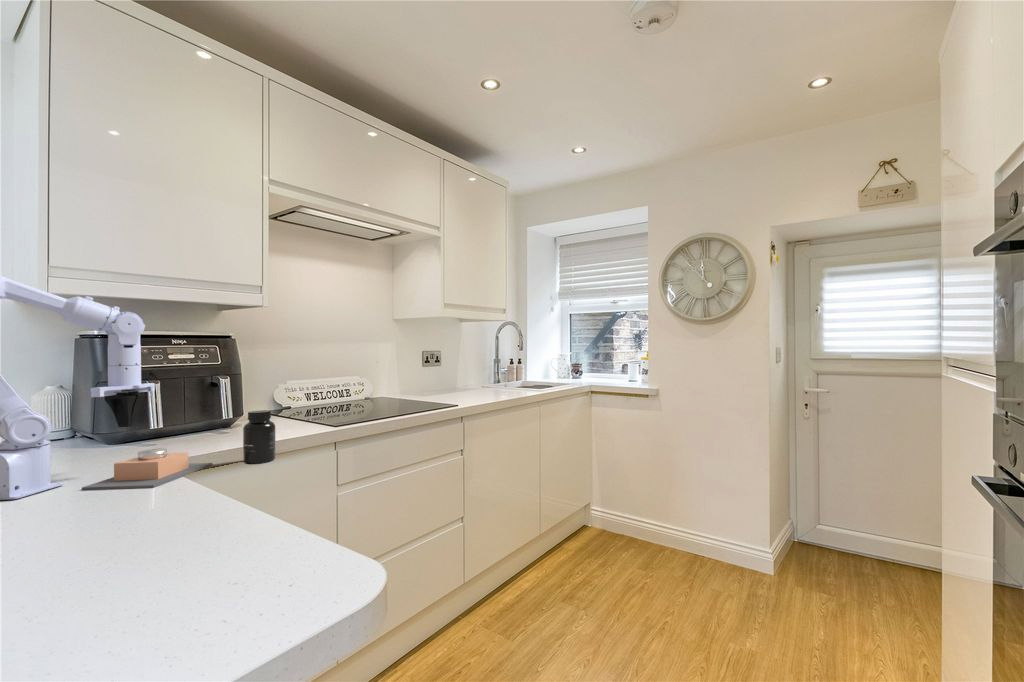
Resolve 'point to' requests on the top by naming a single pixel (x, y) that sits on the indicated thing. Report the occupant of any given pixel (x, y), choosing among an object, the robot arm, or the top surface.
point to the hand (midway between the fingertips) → (125, 426)
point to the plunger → (152, 454)
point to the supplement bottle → (259, 438)
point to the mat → (145, 483)
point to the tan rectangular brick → (150, 467)
